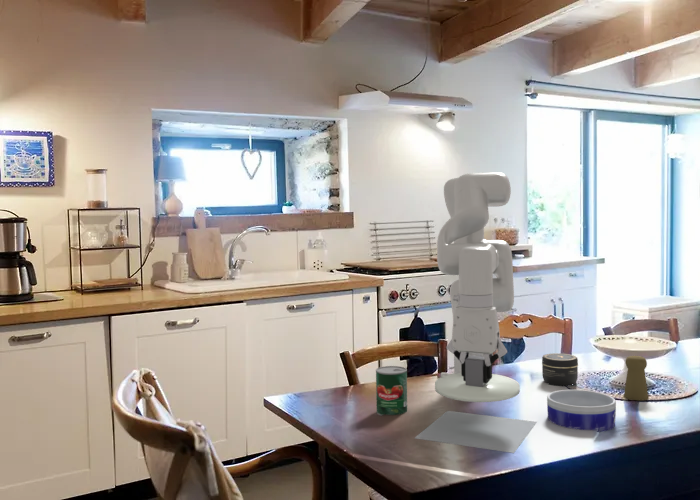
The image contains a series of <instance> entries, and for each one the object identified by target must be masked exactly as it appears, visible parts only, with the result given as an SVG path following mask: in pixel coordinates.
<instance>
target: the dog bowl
mask: <svg viewBox="0 0 700 500" xmlns="http://www.w3.org/2000/svg"><path fill="white" fill-rule="evenodd" d="M546 405H547V406H546V407H547V408H546V409H547V419H548V420H549V421H550V422H551V423H552V424H555V425H557V426H559V427H563V428H567V429H574V430H581V431H596V433H602V432H606V431H611V430H612V429H614V428H615V426H616V416H617V415H616V411H617V407H616V406H617V403H616V399H615V398H614V397H613V396H610V395H609V394H606V393H603V392H598V391H594V390H585V389H562V390H561V389H560V390H554V391H552V392H550V393H548V394H547V396H546Z"/></svg>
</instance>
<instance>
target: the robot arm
mask: <svg viewBox="0 0 700 500" xmlns="http://www.w3.org/2000/svg"><path fill="white" fill-rule="evenodd" d="M511 191H512V190H511V183H510V180H509V177H508V176H507V175H506V174H505V173H504V172H498V171H497V172H469V173H464V174H462V175H460V176H459V177H454V178H450V179H448V180H447V181H446V182H445V183H444V186H443V197H444V203H445V206H446V209H447V212H448V214H449V219H447V221H446V222H445V223H444V225H442V227H441V229H440V230H439V233H438V237H437V240H436V241H437V244H436V245H437V246H436V248H437V249H436V252H437V253H436V260H437V261H436V262H437V268H438V269H439V271H440V273H442V274H443V275H446V276H458V279H456V280H455V281H454V282H452V284H451V285H450V287H449V298H450V305H451V310H452V331H451V333H452V334H451V339H450V340H449V343H447V345H446V350H447V351H449V352H450V353H451V354H453V361H454V362H453V364H454V365H453V372H451V373H449V372H441V373H440V378H441V377H443V376H447V375H451V374H457V373H461V374H462V376H463V380H464V381H466V378H465V359H466V358H468V357H469V356H470V355H473V356H484V359H485V366H484V367H483V382H484V383H488V382H489V381H490V379H491V378H492V374H493V363H495V362H496V361H497V360H499V359H500V358H501V357H502V358H503V356H506V354H508V350H507V348H506V346H505V345H504V343H503V341H502V340H501V337H500V324H499V317H498V316H499V315H498V313H506V312H510V311H511V310H512V309H513V307H514V302H515V289H514V268H513V267H514V266H513V253H512V249H511V246H510V244H509V243H508V242H507V241H505V240H501V239H485V227H486V226H487V224H488V222H489V219H490V213H489V207H503V206H505V205H507V204H508V203H509V201H510V198H511V193H512V192H511ZM493 276H496V277H493ZM497 350H498V352H496V351H497ZM493 353H494V354H493Z"/></svg>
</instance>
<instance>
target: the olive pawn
mask: <svg viewBox="0 0 700 500" xmlns="http://www.w3.org/2000/svg"><path fill="white" fill-rule="evenodd" d="M647 366H648V362H647V359H646V358H645V357H644V356H642V355H641V356H640V355H628V356H626V359H625V367H626V368H627V372H626V380H625V387H624V393H623V394H624V395H623V398H625V397H626V398H625V399H628V400H631V401H647V400H649V399H650V398H649V391H648V387H647V386H648V385H647V378H646V370H645V369H646V368H647Z"/></svg>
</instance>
